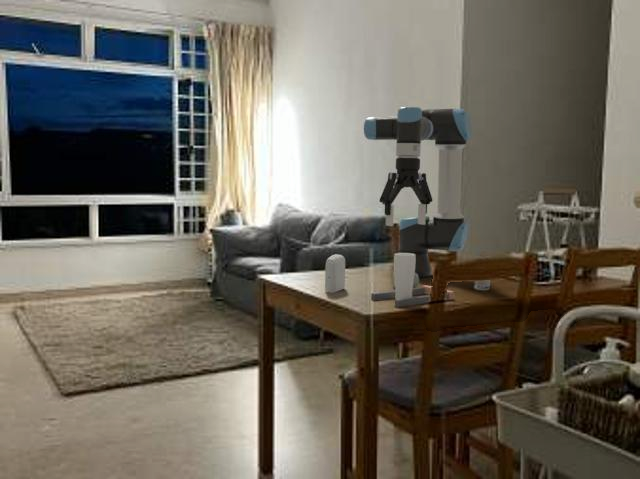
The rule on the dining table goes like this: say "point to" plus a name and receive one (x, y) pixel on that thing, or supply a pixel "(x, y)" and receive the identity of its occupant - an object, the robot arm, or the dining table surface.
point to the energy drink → (482, 284)
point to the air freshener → (415, 283)
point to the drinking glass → (404, 274)
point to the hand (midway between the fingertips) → (405, 225)
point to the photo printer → (335, 273)
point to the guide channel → (410, 301)
